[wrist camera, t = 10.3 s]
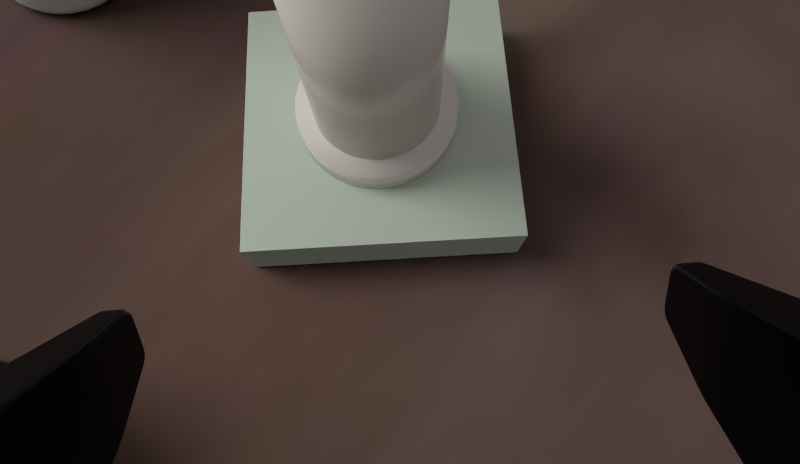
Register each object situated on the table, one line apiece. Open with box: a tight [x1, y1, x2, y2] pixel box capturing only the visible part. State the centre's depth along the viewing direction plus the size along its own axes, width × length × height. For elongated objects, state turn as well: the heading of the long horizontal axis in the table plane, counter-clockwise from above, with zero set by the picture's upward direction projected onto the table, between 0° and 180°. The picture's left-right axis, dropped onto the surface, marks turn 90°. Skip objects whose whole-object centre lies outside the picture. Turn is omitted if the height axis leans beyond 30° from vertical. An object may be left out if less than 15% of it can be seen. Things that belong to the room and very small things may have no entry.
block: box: [240, 0, 528, 267], centre depth 24 cm, size 11×11×2 cm
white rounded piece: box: [274, 0, 459, 189], centre depth 17 cm, size 6×6×11 cm
